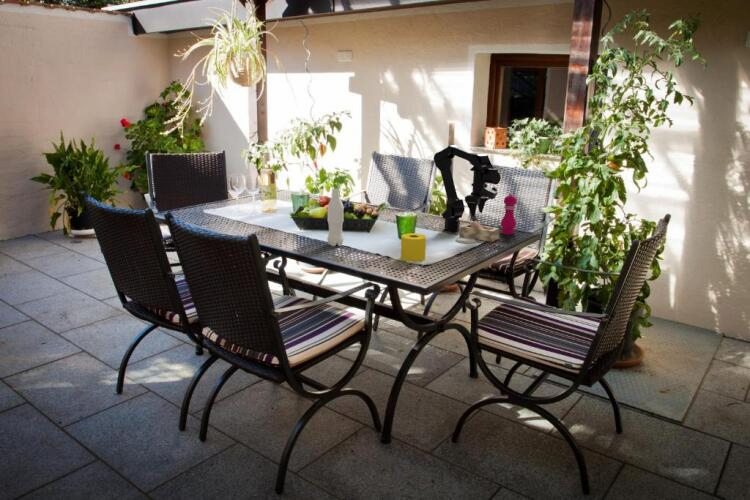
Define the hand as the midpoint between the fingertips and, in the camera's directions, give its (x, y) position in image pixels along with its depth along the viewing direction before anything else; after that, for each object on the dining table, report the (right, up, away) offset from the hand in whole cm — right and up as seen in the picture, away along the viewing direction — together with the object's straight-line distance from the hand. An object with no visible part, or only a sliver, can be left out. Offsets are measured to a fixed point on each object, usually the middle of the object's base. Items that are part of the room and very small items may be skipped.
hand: (477, 214), depth 287 cm
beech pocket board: (+1, -11, +2) cm, 11 cm away
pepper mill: (+17, -8, +12) cm, 23 cm away
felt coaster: (-6, -12, -4) cm, 15 cm away
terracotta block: (+1, -8, +2) cm, 8 cm away
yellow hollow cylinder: (-32, -20, -34) cm, 51 cm away
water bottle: (-65, -15, -16) cm, 69 cm away
